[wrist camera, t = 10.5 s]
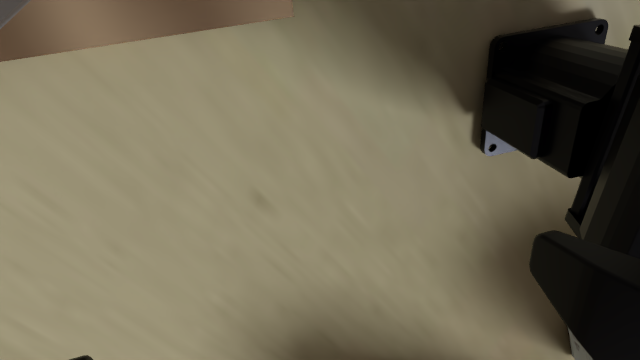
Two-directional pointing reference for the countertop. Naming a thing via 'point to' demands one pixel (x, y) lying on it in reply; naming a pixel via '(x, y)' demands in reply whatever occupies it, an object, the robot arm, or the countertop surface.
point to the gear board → (118, 21)
